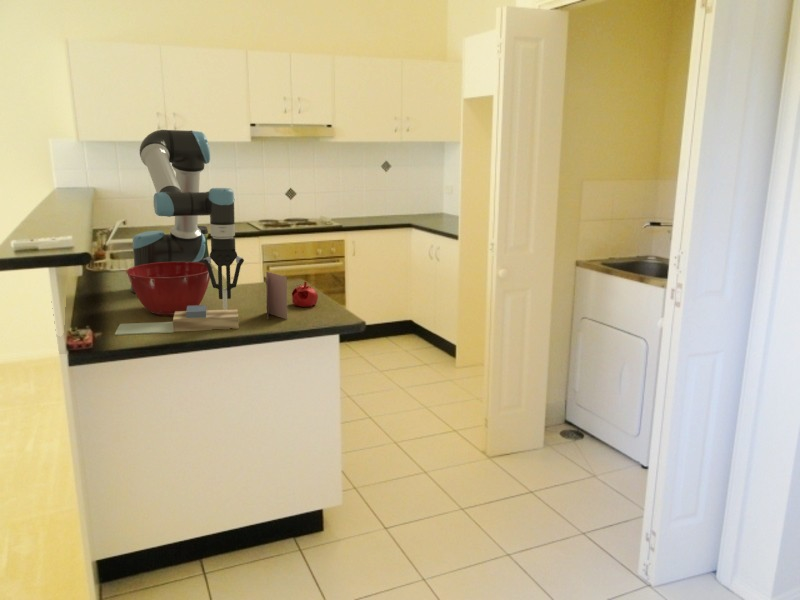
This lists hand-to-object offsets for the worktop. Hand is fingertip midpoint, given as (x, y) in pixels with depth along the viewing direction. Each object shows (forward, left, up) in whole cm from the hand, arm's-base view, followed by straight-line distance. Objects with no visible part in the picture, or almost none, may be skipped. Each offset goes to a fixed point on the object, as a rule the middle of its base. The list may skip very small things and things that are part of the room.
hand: (225, 308), depth 206 cm
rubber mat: (0, -25, -6) cm, 25 cm away
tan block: (0, -6, -6) cm, 8 cm away
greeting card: (-8, +17, -6) cm, 20 cm away
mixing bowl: (-21, -18, -6) cm, 28 cm away
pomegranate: (-23, +29, -6) cm, 38 cm away
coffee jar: (-110, -11, -6) cm, 111 cm away
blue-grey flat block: (0, -9, -2) cm, 9 cm away
